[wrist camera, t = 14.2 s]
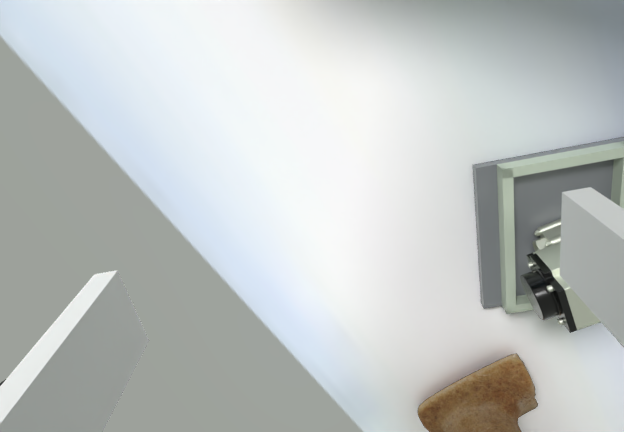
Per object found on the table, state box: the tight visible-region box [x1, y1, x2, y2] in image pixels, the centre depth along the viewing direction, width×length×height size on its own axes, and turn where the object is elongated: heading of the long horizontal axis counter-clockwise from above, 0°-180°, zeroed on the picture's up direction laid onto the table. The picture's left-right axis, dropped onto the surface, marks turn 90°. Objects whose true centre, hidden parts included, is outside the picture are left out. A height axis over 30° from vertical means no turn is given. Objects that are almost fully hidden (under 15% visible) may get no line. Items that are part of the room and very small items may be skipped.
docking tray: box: [473, 137, 624, 314], centre depth 47 cm, size 17×16×2 cm
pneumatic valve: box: [520, 219, 601, 333], centre depth 41 cm, size 6×12×12 cm, turn 116°
